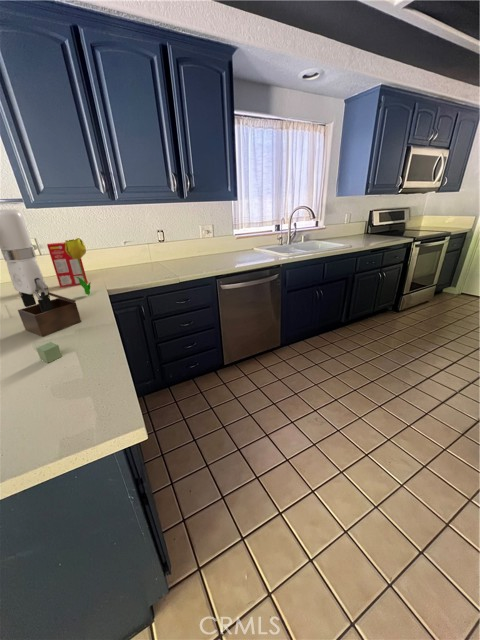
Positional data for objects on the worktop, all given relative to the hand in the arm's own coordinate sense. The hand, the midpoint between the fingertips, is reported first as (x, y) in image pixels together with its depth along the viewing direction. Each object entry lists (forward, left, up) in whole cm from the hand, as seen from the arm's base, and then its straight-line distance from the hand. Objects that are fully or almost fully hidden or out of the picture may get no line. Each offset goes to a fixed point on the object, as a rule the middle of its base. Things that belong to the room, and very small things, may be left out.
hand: (39, 308), depth 85 cm
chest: (-3, +23, -16) cm, 28 cm away
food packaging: (-1, +88, -16) cm, 90 cm away
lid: (-2, +24, -2) cm, 24 cm away
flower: (+8, +60, -16) cm, 63 cm away
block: (0, -6, -16) cm, 17 cm away
